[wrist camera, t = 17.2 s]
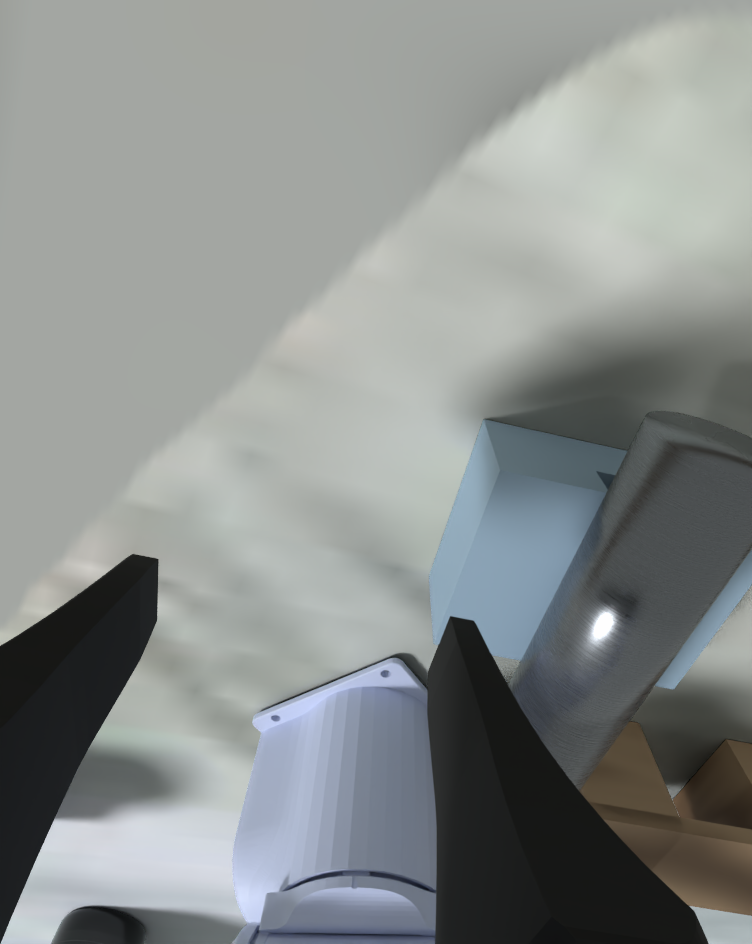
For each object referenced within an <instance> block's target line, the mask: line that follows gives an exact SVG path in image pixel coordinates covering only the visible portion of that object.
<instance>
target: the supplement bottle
mask: <svg viewBox="0 0 752 944" xmlns="http://www.w3.org/2000/svg"><path fill="white" fill-rule="evenodd" d="M145 939H146V934H145V930H144V927H143V926H142V924H141V923H140V922H138V921H137V920H136V919H134V918H133V917H131V916H129V915H127V914H124V913H122V912H119V911H115V910H111V909H106V908H96V907H90V908H81V909H77V910H74V911H72V912H71V913H69V914H68V915H67V916H66V917H65V918H64V919H63V920H62V922H61V924H60V926H59V928H58V930H57V932H56V934H55V936H54V938H53V940H52V943H51V944H144V943H145Z"/></svg>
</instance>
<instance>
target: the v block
mask: <svg viewBox="0 0 752 944" xmlns="http://www.w3.org/2000/svg"><path fill="white" fill-rule="evenodd" d="M626 453H627V451H626V450H621V449H616V448H612V447H607V446H603V445H598V444H594V443H589V442H585V441H580V440H576V439H571V438H567V437H562V436H558V435H553V434H549V433H544V432H540V431H535V430H531V429H526V428H521V427H517V426H512V425H508V424H503V423H499V422H494V421H490V420H485V419H483V422H482V425H481V428H480V431H479V434H478V437H477V440H476V442H475V445H474V448H473V451H472V454H471V457H470V460H469V463H468V466H467V468H466V471H465V474H464V477H463V480H462V483H461V486H460V489H459V491H458V494H457V497H456V500H455V503H454V506H453V509H452V512H451V515H450V517H449V520H448V523H447V526H446V529H445V532H444V535H443V538H442V540H441V543H440V546H439V549H438V552H437V555H436V558H435V561H434V563H433V566H432V569H431V572H430V575H429V584H430V599H431V614H432V628H433V643H434V644H436V645H439V643H440V640H441V638H442V635H443V633H444V630H445V628H446V625H447V623H448V620H449V618H450V616H453V617H458V618H463V619H468V620H473V621H474V622H475V623H476V625H477V627H478V629H479V631H480V633H481V635H482V637H483V639H484V641H485V643H486V645H487V647H488V649H489V651H490V653H491V655H494V656H500V657H505V658H510V659H515V660H521V659H522V657H523V655H524V654H525V652H526V650H527V648H528V646H529V644H530V642H531V640H532V638H533V636H534V634H535V632H536V630H537V628H538V626H539V624H540V622H541V620H542V618H543V616H544V614H545V612H546V610H547V608H548V606H549V604H550V602H551V601H552V599H553V597H554V595H555V593H556V591H557V589H558V587H559V585H560V583H561V581H562V579H563V577H564V575H565V573H566V571H567V569H568V567H569V565H570V563H571V561H572V559H573V557H574V555H575V553H576V551H577V550H578V548H579V546H580V544H581V542H582V540H583V538H584V536H585V534H586V532H587V530H588V528H589V526H590V524H591V522H592V520H593V518H594V516H595V514H596V512H597V510H598V508H599V506H600V504H601V502H602V500H603V498H604V497H605V495H606V493H607V491H608V489H609V487H610V485H611V483H612V481H613V479H614V477H615V475H616V473H617V471H618V469H619V467H620V465H621V463H622V461H623V459H624V457H625V455H626ZM751 585H752V550H751V551H750V553H749V554H748V556H747V557H746V558H745V560H744V561H743V563H742V564H741V565H740V567H739V568H738V570H737V571H736V572H735V574H734V575H733V577H732V578H731V579H730V581H729V582H728V584H727V585H726V586H725V588H724V589H723V591H722V592H721V593H720V595H719V596H718V598H717V599H716V600H715V602H714V603H713V605H712V606H711V607H710V609H709V610H708V612H707V613H706V614H705V616H704V617H703V619H702V620H701V621H700V623H699V624H698V626H697V627H696V628H695V630H694V631H693V633H692V634H691V636H690V637H689V638H688V640H687V641H686V643H685V644H684V645H683V647H682V648H681V650H680V651H679V652H678V654H677V655H676V657H675V658H674V659H673V661H672V662H671V664H670V665H669V666H668V668H667V669H666V671H665V672H664V673H663V675H662V676H661V678H660V679H659V680H658V682H657V683H656V685H655V686H658V687H663V688H668V689H675V687H676V686H677V685H678V683H679V682H680V680H681V679H682V678H683V676H684V675H685V674H686V672H687V671H688V670H689V668H690V667H691V666H692V664H693V663H694V662H695V660H696V659H697V658H698V656H699V655H700V654H701V652H702V651H703V650H704V648H705V647H706V645H707V644H708V643H709V641H710V640H711V639H712V637H713V636H714V635H715V633H716V632H717V631H718V629H719V628H720V627H721V625H722V624H723V623H724V621H725V620H726V619H727V617H728V616H729V615H730V613H731V612H732V610H733V609H734V608H735V606H736V605H737V604H738V602H739V601H740V600H741V598H742V597H743V596H744V594H745V593H746V592H747V590H748V589H749V588H750V586H751Z"/></svg>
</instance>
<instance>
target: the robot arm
mask: <svg viewBox="0 0 752 944" xmlns="http://www.w3.org/2000/svg"><path fill="white" fill-rule="evenodd" d="M157 598H158V559H156V558H150V557H145V556H140V555H135V554H132V555H130V556H129V557H127V558H126V559H125V560H123V561H122V562H121V563H119V564H118V565H117V566H115V567H114V568H113V569H112V570H110V571H109V572H108V573H106V574H105V575H104V576H102V577H101V578H100V579H98V580H97V581H96V582H94V583H93V584H92V585H90V586H89V587H88V588H86V589H85V590H84V591H82V592H81V593H80V594H78V595H77V596H75V597H74V598H73V599H71V600H70V601H68V602H67V603H66V604H64V605H63V606H61V607H60V608H58V609H57V610H56V611H54V612H53V613H51V614H50V615H48V616H47V617H45V618H44V619H42V620H41V621H39V622H38V623H36V624H34V625H33V626H31V627H30V628H28V629H27V630H25V631H24V632H22V633H21V634H19V635H18V636H16V637H14V638H13V639H11V640H9V641H8V642H6V643H4V644H3V645H1V646H0V943H1V941H2V939H3V936H4V934H5V931H6V929H7V926H8V924H9V921H10V919H11V916H12V914H13V912H14V909H15V907H16V905H17V902H18V900H19V898H20V895H21V893H22V891H23V889H24V886H25V884H26V882H27V879H28V877H29V875H30V872H31V870H32V868H33V865H34V863H35V861H36V858H37V856H38V854H39V852H40V849H41V847H42V845H43V843H44V840H45V838H46V836H47V834H48V832H49V829H50V827H51V825H52V823H53V820H54V818H55V816H56V814H57V812H58V809H59V807H60V805H61V803H62V801H63V799H64V797H65V795H66V792H67V790H68V788H69V786H70V784H71V782H72V780H73V777H74V775H75V773H76V771H77V769H78V767H79V765H80V763H81V761H82V759H83V758H84V756H85V754H86V752H87V750H88V748H89V746H90V745H91V743H92V741H93V740H94V738H95V736H96V734H97V733H98V731H99V729H100V728H101V726H102V724H103V722H104V721H105V719H106V717H107V716H108V714H109V712H110V711H111V709H112V707H113V705H114V704H115V702H116V700H117V699H118V697H119V695H120V694H121V692H122V690H123V688H124V687H125V685H126V683H127V681H128V680H129V678H130V676H131V675H132V673H133V671H134V669H135V668H136V666H137V664H138V662H139V661H140V659H141V656H142V654H143V652H144V650H145V647H146V645H147V643H148V641H149V638H150V636H151V633H152V631H153V629H154V626H155V624H156V622H157ZM384 670H387V671H384ZM252 723H253V725H254V726H255V727H256V728H257V729H258V730H259V731H260V732H261V736H260V740H259V744H258V748H257V752H256V756H255V760H254V764H253V768H252V772H251V776H250V780H249V784H248V788H247V792H246V796H245V800H244V804H243V808H242V812H241V816H240V820H239V824H238V828H237V832H236V837H235V842H234V848H233V882H234V890H235V895H236V899H237V903H238V906H239V908H240V911H241V913H242V915H243V917H244V919H245V920H246V922H247V923H248V924H247V925H245V926H244V927H243V928H242V930H241V931H240V932H239V934H238V935H237V937H236V939H235V940H234V941H233V942H232V943H231V944H708V941H707V939H706V936H705V934H704V932H703V930H702V927H701V925H700V923H699V921H698V918H697V916H696V914H695V912H694V911H693V910H692V909H691V908H690V907H689V906H688V905H687V904H686V903H685V902H684V901H683V900H682V899H681V898H680V897H679V896H678V895H677V894H676V893H675V892H673V891H672V890H671V889H670V888H669V887H668V886H667V885H666V884H665V883H664V882H663V881H662V880H661V879H660V878H659V877H658V876H657V875H656V874H655V873H653V872H652V871H651V870H650V869H649V868H648V867H647V866H646V865H645V864H644V863H643V862H642V861H641V860H640V859H639V857H638V856H637V855H636V854H635V853H634V852H633V851H632V850H631V849H630V848H629V847H628V846H627V845H626V844H625V843H624V842H623V841H622V840H621V839H620V838H619V836H618V835H617V834H616V833H615V832H614V831H613V830H612V829H611V828H610V827H609V825H608V824H607V823H606V822H605V821H604V820H603V819H602V817H601V816H600V815H599V814H598V813H597V812H596V810H595V809H594V808H593V807H592V806H591V804H590V803H589V802H588V801H587V800H586V799H585V797H584V796H583V795H582V794H581V793H580V791H579V790H578V789H577V788H576V786H575V785H574V784H573V783H572V781H571V780H570V779H569V778H568V776H567V775H566V774H565V772H564V771H563V770H562V768H561V767H560V766H559V764H558V763H557V761H556V760H555V759H554V757H553V756H552V755H551V753H550V752H549V750H548V749H547V748H546V746H545V745H544V743H543V742H542V740H541V739H540V737H539V736H538V734H537V733H536V731H535V729H534V728H533V726H532V725H531V723H530V722H529V720H528V718H527V717H526V715H525V714H524V712H523V710H522V709H521V707H520V705H519V704H518V702H517V700H516V698H515V697H514V695H513V693H512V691H511V690H510V688H509V686H508V684H507V683H506V681H505V679H504V677H503V675H502V674H501V672H500V670H499V668H498V666H497V664H496V662H495V660H494V658H493V657H492V655H491V653H490V651H489V649H488V647H487V645H486V643H485V641H484V639H483V637H482V635H481V633H480V631H479V629H478V627H477V625H476V623H475V622H474V621H473V620H468V619H463V618H458V617H453V616H450V618H449V620H448V623H447V625H446V628H445V630H444V633H443V635H442V638H441V640H440V643H439V645H438V648H437V651H436V653H435V656H434V658H433V661H432V663H431V666H430V668H429V671H428V690H427V689H426V688H425V687H424V685H423V684H422V683H421V682H420V681H419V680H418V678H417V677H416V676H415V675H414V674H413V673H412V671H411V670H410V669H409V668H408V667H407V666H406V664H405V663H404V662H403V661H402V660H400V659H398V658H390V659H387V660H385V661H382V662H380V663H378V664H375V665H373V666H370V667H368V668H366V669H363V670H361V671H358V672H356V673H353V674H351V675H349V676H346V677H344V678H341V679H339V680H337V681H334V682H332V683H329V684H327V685H324V686H322V687H320V688H317V689H315V690H312V691H310V692H307V693H305V694H303V695H300V696H298V697H295V698H293V699H291V700H288V701H286V702H283V703H281V704H278V705H276V706H274V707H271V708H269V709H266V710H264V711H262V712H259V713H257V714H255V715H254V718H253V721H252Z"/></svg>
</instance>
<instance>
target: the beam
mask: <svg viewBox="0 0 752 944" xmlns="http://www.w3.org/2000/svg"><path fill="white" fill-rule="evenodd" d="M580 793H581V794H582V795H583V796H584V797H585V799H586V800H587V801H588V802H589V803H590V804H591V806H592V807H593V808H594V809H595V810H596V812H597V813H598V814H599V815H600V816H601V817H602V819H603V820H604V821H605V822H606V823H607V824H608V825H609V827H610V828H611V829H612V830H613V831H614V832H615V833H616V834H617V835H618V836H619V838H620V839H621V840H622V841H623V842H624V843H625V844H626V845H627V846H628V847H629V848H630V849H631V850H632V851H633V852H634V853H635V854H636V855H637V856H638V857H639V859H640V860H641V861H642V862H643V863H644V864H645V865H646V866H647V867H648V868H649V869H650V870H651V871H652V872H653V873H655V874H656V875H657V876H658V877H659V878H660V879H661V880H662V881H663V882H664V883H665V884H666V885H667V886H668V887H669V888H670V889H671V890H672V891H673V892H675V893H676V894H677V895H678V896H679V897H680V898H681V899H682V900H683V901H684V902H685V903H686V904H687V905H688V906H694V907H701V908H707V909H713V910H719V911H726V912H732V913H738V914H744V915H751V916H752V744H749V743H744V742H739V741H733V740H728V739H726V740H725V741H724V742H723V743H722V744H721V745H720V747H719V748H718V749H717V750H716V751H715V752H714V753H713V754H712V756H711V757H710V758H709V759H708V760H707V761H706V762H705V764H704V765H703V766H702V767H701V768H700V769H699V770H698V772H697V773H696V774H695V775H694V776H693V777H692V778H691V780H690V781H689V782H688V783H687V784H686V785H685V786H684V788H683V789H682V790H681V791H680V792H679V793H678V794H677V796H676V797H675V798H674V799H673V801H672V799H671V796H670V794H669V792H668V789H667V787H666V785H665V782H664V780H663V778H662V775H661V773H660V771H659V768H658V766H657V764H656V761H655V759H654V757H653V754H652V752H651V750H650V747H649V745H648V743H647V740H646V738H645V736H644V733H643V731H642V729H641V726H640V724H639V723H635V722H630V721H629V722H628V724H627V725H626V727H625V728H624V729H623V731H622V732H621V734H620V735H619V736H618V738H617V739H616V741H615V742H614V744H613V745H612V746H611V748H610V749H609V751H608V752H607V753H606V755H605V756H604V758H603V759H602V760H601V762H600V763H599V765H598V766H597V767H596V769H595V770H594V772H593V773H592V774H591V776H590V777H589V779H588V780H587V781H586V783H585V784H584V786H583V787H582V788H581V790H580ZM673 802H674V803H673ZM674 804H675V806H674ZM675 807H676V808H675ZM676 809H677V810H676ZM677 811H678V813H677ZM678 814H679V815H678ZM679 816H680V817H679Z"/></svg>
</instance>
